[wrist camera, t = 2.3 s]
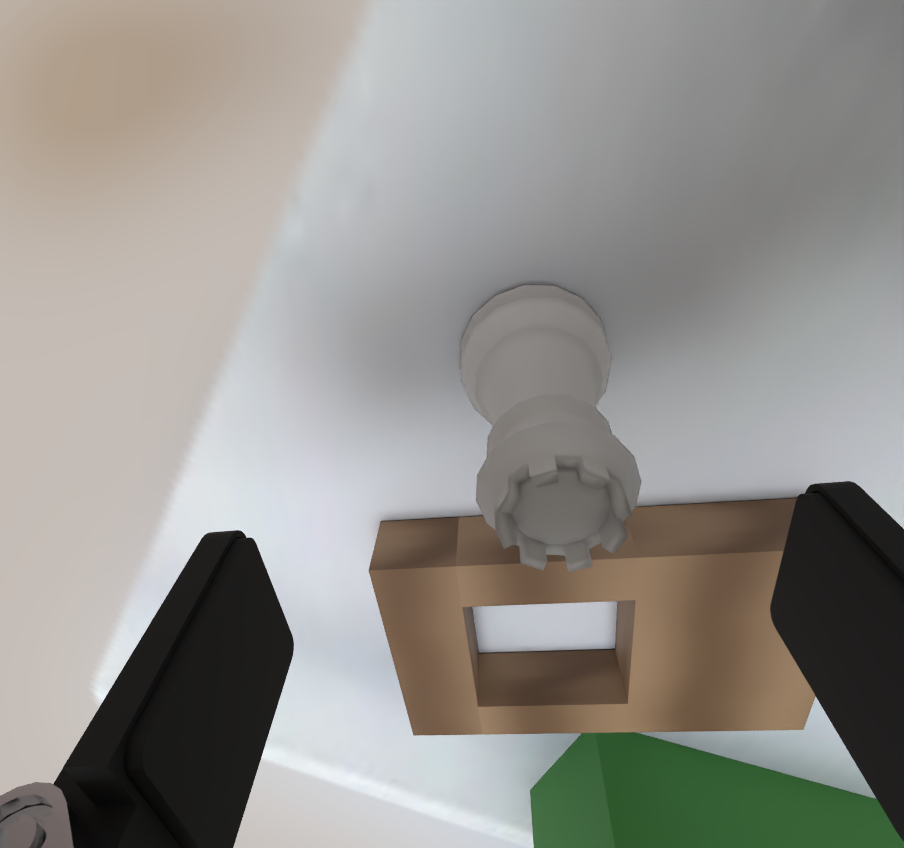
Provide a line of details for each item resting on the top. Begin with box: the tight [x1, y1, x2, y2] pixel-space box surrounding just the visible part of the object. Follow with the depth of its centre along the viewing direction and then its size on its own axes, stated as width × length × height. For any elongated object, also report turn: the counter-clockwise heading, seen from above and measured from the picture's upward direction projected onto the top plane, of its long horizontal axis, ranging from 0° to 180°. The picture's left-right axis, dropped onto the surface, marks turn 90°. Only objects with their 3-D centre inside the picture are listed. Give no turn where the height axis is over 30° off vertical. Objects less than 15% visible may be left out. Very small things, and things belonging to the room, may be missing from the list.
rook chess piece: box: [460, 285, 641, 572], centre depth 14 cm, size 4×4×8 cm
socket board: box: [369, 498, 815, 735], centre depth 22 cm, size 16×10×2 cm, turn 97°
